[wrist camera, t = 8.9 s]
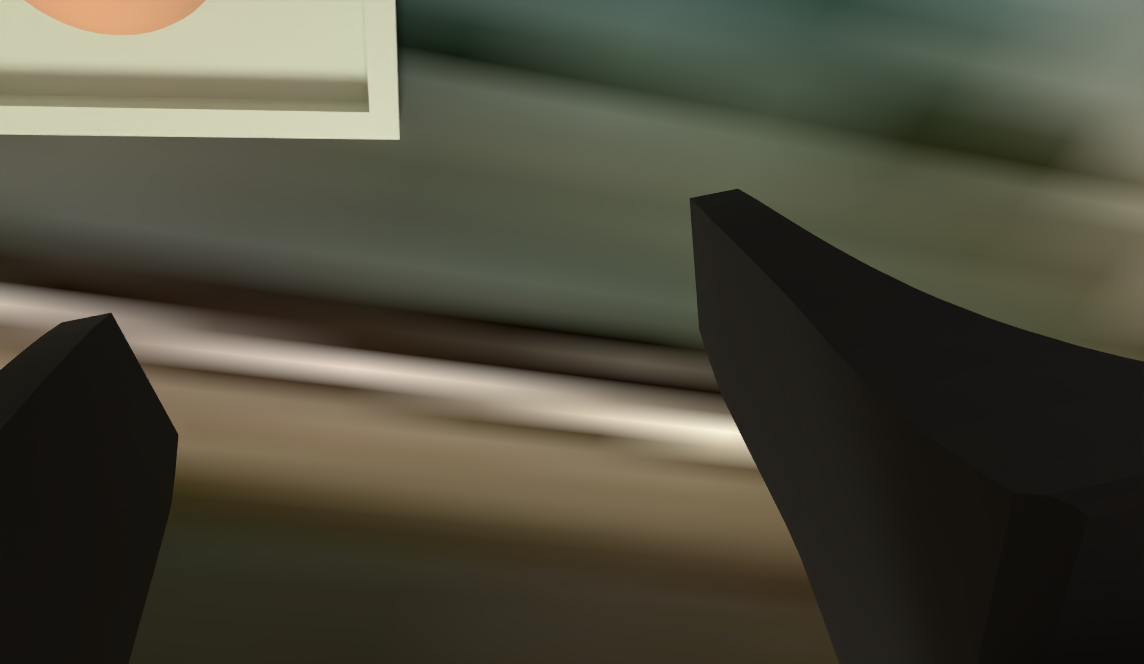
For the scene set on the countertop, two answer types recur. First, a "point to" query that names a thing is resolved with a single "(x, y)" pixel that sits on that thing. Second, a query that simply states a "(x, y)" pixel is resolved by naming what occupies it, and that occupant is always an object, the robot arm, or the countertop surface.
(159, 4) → the ball
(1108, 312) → the countertop surface
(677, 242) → the countertop surface
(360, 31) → the tray
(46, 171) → the countertop surface
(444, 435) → the countertop surface
